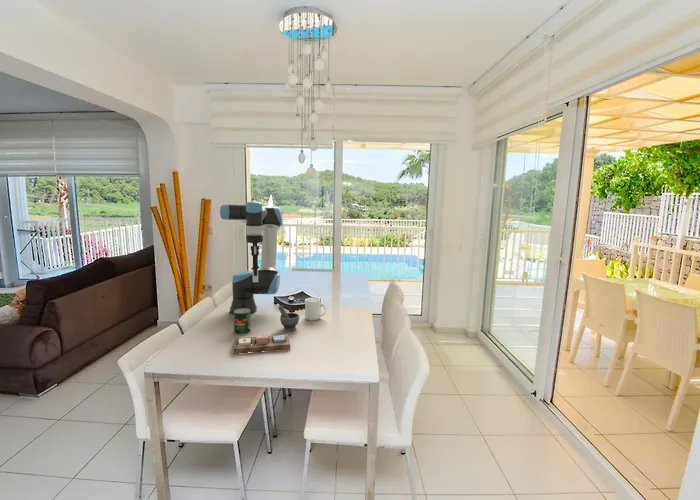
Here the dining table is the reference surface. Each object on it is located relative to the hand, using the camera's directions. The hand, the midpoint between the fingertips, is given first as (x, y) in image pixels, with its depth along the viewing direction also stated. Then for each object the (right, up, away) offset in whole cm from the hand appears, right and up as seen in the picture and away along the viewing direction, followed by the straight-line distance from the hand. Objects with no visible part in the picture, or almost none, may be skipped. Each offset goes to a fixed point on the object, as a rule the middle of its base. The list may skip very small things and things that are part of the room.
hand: (255, 281), depth 173 cm
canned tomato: (-7, -25, +2) cm, 26 cm away
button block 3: (+14, -27, -13) cm, 33 cm away
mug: (+27, -23, +25) cm, 43 cm away
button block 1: (0, -28, -17) cm, 32 cm away
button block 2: (+7, -26, -15) cm, 31 cm away
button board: (+7, -28, -15) cm, 32 cm away
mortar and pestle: (+15, -25, +8) cm, 30 cm away
